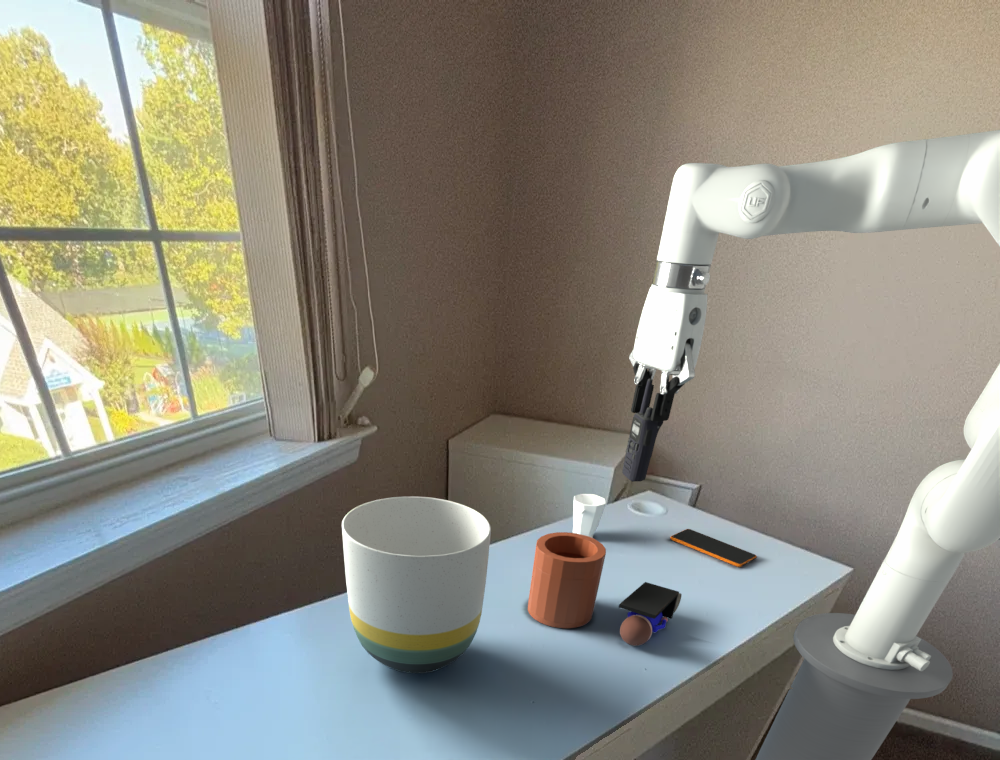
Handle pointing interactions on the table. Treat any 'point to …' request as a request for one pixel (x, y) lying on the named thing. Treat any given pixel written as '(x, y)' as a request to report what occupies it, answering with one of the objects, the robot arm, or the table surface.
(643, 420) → the two-way radio
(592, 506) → the cup
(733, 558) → the smartphone
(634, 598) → the figurine character
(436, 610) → the planter
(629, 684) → the table surface
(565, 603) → the jar
